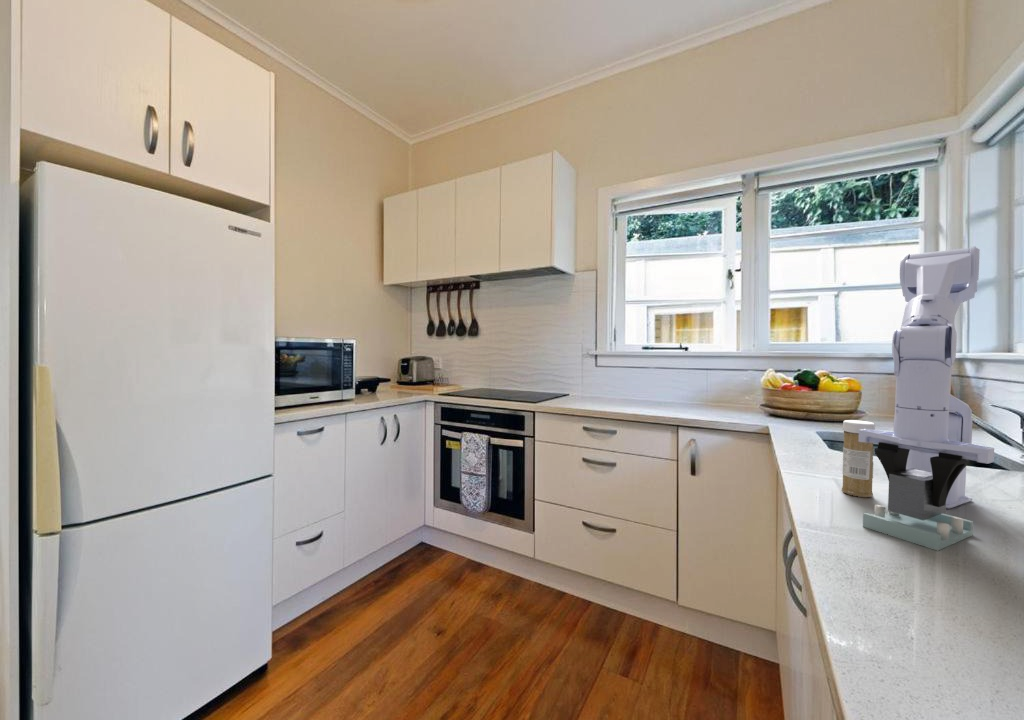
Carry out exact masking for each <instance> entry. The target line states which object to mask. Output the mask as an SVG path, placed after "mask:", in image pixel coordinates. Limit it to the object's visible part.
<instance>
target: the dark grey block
mask: <svg viewBox="0 0 1024 720" xmlns="http://www.w3.org/2000/svg"><path fill="white" fill-rule="evenodd" d="M932 490H933V475H932V472H930V471H925V470H920V469H915V468H910V469H906V470H902V471H898V472H894V473H890V474H889V480H888V496H887V497H888V498H887V499H888V501H887V511H888V512H889V511H891V512H895V513H898V514H902V515H905V516H909V517H912V518H916V519H920V520H926V519H929V518H931V517H934V516H937V515H940V514H942V513H943V514H946V511H947V508H946V503H945V505H944V506H941V507H936V506H933V505H932Z"/></svg>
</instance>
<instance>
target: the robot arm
mask: <svg viewBox="0 0 1024 720" xmlns="http://www.w3.org/2000/svg"><path fill="white" fill-rule="evenodd" d="M979 274H980V248H978V247H976V245H975V246H970V247H966V248H957V249H956V248H955V249H949V250H948V249H947V250H946V249H945V250H938V251H930V252H922V253H911V254H910V253H905V254H904V256H902V257H901V259H900V264H899V283H900V286H901V290H902V296H903V297H904V301H905V302H906V305H905V308H904V312H903V316H902V322H901V327H900V329H898V330H897V329H895V330H894V332H893V335H892V343H891V355H892V358H893V374H894V376H896V377H895V378H896V379H895V394H894V395H895V396H894V397H895V399H894V418H893V431H885V430H878V429H877V430H876V429H875V430H870V429H861V430H859V442H864V443H868V442H869V443H873V444H876V445H877V447H876V448H874V454H875V456H876V457H877V458H878V460H879V461H880V464H881V466H882V467H883V470H884V471H885V474H886V477H887V480H888V481H889V474H890V473H894V472H898V471H902V470H906V469H910V468H915V469H920V470H925V471H930V472H932V475H933V490H932V505H933V506H936V507H941V506H944V505H945V503H946V509H952V508H955V507H958V506H961V505H964V504H966V503H969V502H972V501H973V497H971V496H967V495H966V485H967V483H966V481H967V480H966V479H967V465H968V464H969V462H970V461H975V462H976V463H980V464H986V465H987V464H991V463H994V460H995V447H990V446H984V445H978V444H974V443H972V442H973V417H972V415H973V413H972V412H973V410H972V408H970V405H969V404H968V403H966V402H964V401H963V400H961V399H959V398H957V397H956V396H954V395H953V394H951V390H952V373H953V371H952V370H953V368H952V367H953V366H954V363H955V361H956V359H957V358H956V357H957V356H956V355H957V343H958V342H957V338H958V337H957V331H956V327H955V319H956V314H957V312H958V310H959V307H960V306H961V304H962V303H965V302H967V301H970V300H972V299H974V298H975V294H976V293H977V291H978V281H979V276H980V275H979Z"/></svg>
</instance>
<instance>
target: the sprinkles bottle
mask: <svg viewBox="0 0 1024 720" xmlns="http://www.w3.org/2000/svg"><path fill="white" fill-rule="evenodd" d="M861 429H870V430H876V425H875V422H872V421H867V420H861V419H860V420H859V419H845V420H843V422H842V430H843V446H842V487H841V491H842V492H843V493H845V494H847V495H849V496H852V495H853V496H852V497H856V496H858V498H871V497H873V495H874V493H873V478H874V443H869V442H868V443H864V442H859V430H861Z"/></svg>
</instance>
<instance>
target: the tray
mask: <svg viewBox="0 0 1024 720" xmlns="http://www.w3.org/2000/svg"><path fill="white" fill-rule="evenodd" d="M862 527H863V528H866V529H869V530H872V531H875V532H879V533H881V532H882V534H885V535H887V534H888V535H887V536H891V537H894V538H897V539H900V540H904V541H907V542H909V543H913V544H916V545H919V546H922V547H926V548H928V549H932V550H935V551H937V552H938V551H940V550H943V549H946V548H947V547H949V546H952V545H954V544H956V543H958V542H960V541H962V540H965V539H967V538H970V537H972V536H973V535H974V521H973V520H969V519H966V518H961V517H958V516H954V515H951V514H946V513H942V514H940V515H937V516H934V517H931V518H929V519H926V520H920V519H916V518H912V517H909V516H905V515H902V514H898V513H895V512H891V511H888V513H886V506H884V505H881V504H874V514H872V513H869V512H864V513H862Z"/></svg>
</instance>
